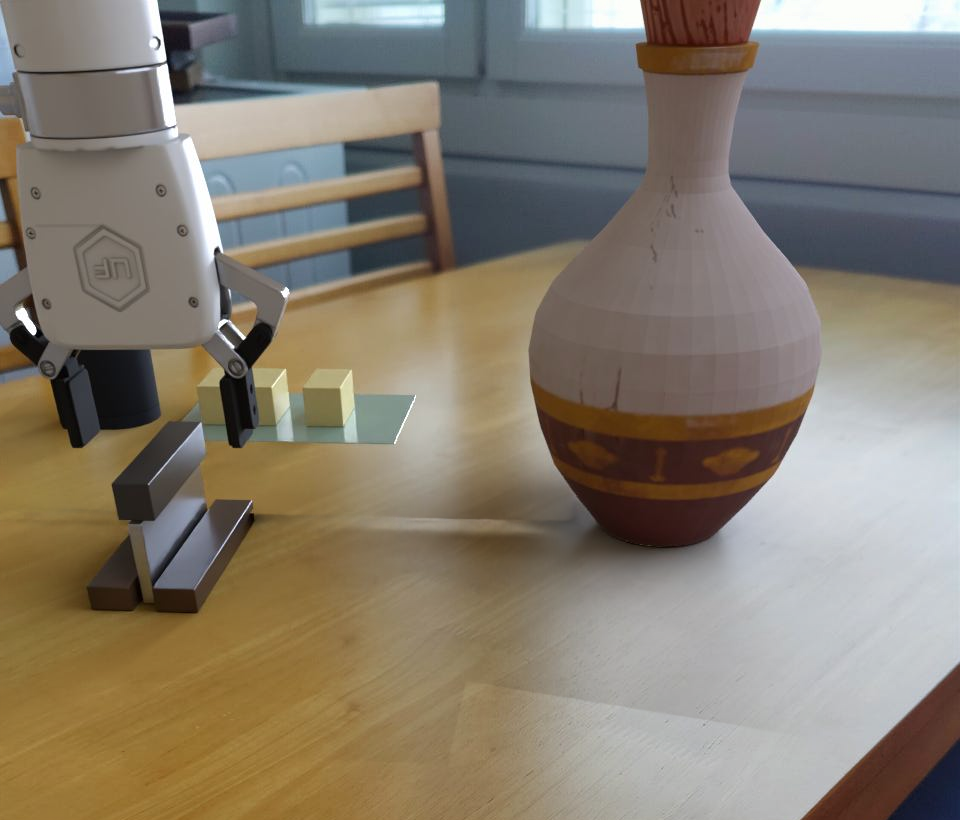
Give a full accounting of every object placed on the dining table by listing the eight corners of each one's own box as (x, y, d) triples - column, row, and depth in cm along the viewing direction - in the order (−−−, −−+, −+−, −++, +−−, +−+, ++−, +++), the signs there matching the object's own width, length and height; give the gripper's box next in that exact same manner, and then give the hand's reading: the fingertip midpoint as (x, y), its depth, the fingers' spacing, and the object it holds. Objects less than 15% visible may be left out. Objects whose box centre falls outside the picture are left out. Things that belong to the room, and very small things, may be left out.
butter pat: (306, 426, 95) (302, 387, 93) (318, 406, 99) (315, 368, 97) (343, 427, 95) (340, 388, 93) (354, 407, 99) (352, 369, 97)
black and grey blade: (167, 604, 73) (145, 487, 68) (131, 603, 73) (107, 486, 69) (220, 525, 82) (204, 418, 78) (188, 525, 82) (170, 418, 78)
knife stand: (90, 609, 72) (85, 586, 71) (161, 518, 83) (158, 497, 82) (198, 613, 72) (194, 589, 71) (255, 520, 83) (252, 499, 82)
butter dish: (166, 452, 94) (164, 439, 93) (208, 403, 103) (206, 391, 103) (395, 456, 92) (394, 443, 92) (417, 406, 102) (416, 394, 101)
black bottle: (123, 446, 95) (31, -25, 77) (66, 433, 98) (-36, -25, 79) (180, 423, 99) (105, -28, 81) (123, 411, 102) (39, -29, 84)
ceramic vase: (574, 457, 92) (591, -33, 73) (814, 482, 87) (895, -36, 69) (490, 559, 77) (485, -21, 59) (772, 596, 72) (862, -23, 54)
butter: (202, 424, 96) (196, 386, 94) (218, 404, 100) (213, 367, 98) (276, 426, 95) (271, 387, 94) (290, 406, 99) (286, 368, 97)
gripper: (-93, 122, 60) (1, 462, 71) (245, 113, 59) (290, 463, 69) (-29, 104, 66) (49, 420, 77) (280, 96, 64) (317, 420, 75)
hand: (163, 440), depth 73 cm, fingers open, 9 cm apart
